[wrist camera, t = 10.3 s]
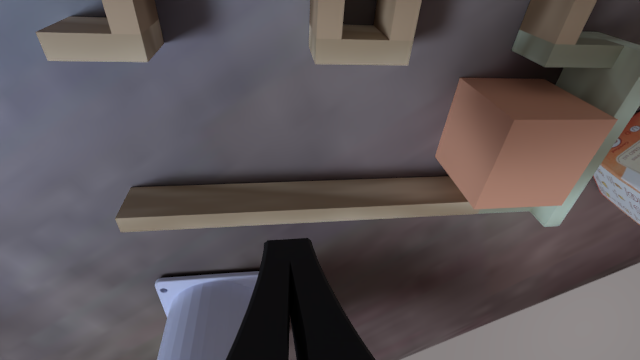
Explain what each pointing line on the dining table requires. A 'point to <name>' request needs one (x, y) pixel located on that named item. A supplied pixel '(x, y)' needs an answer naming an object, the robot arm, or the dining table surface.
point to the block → (518, 141)
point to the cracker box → (623, 171)
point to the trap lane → (358, 49)
